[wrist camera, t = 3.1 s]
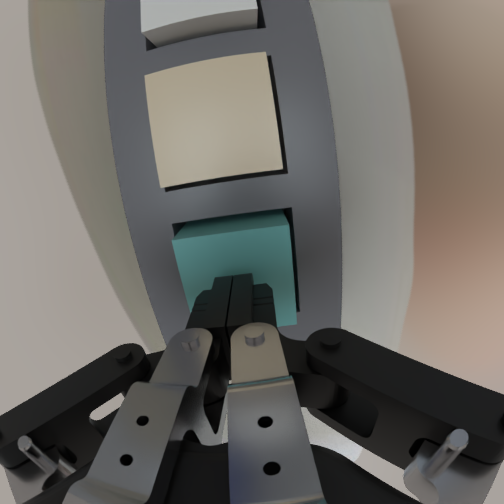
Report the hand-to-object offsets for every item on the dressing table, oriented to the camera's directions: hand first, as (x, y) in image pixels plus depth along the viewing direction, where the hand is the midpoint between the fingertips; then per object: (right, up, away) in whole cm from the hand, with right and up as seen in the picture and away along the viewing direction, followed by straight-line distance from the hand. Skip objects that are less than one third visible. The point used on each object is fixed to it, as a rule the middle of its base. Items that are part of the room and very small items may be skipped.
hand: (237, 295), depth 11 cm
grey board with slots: (-1, +9, +3) cm, 9 cm away
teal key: (0, +2, +4) cm, 4 cm away
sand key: (-1, +8, +1) cm, 8 cm away
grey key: (-2, +15, -1) cm, 15 cm away
